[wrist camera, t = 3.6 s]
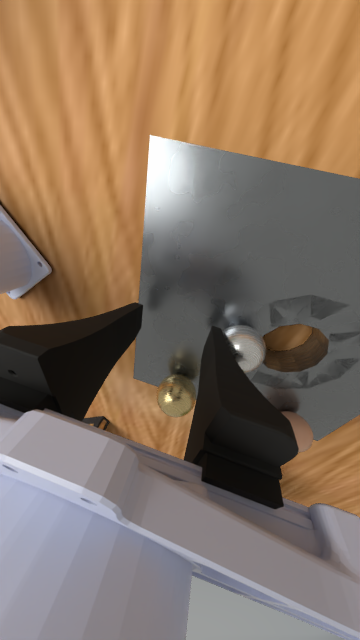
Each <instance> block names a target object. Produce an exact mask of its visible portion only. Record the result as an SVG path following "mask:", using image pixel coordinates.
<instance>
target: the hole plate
mask: <svg viewBox="0 0 360 640" xmlns="http://www.w3.org/2000/svg"><path fill="white" fill-rule="evenodd" d="M139 304H142V305H143V314H142V326H141V329H140V331H139V333H138V334H137V336H136V349H135V363H134V379H137V380H140V381H143V382H146V383H149V384H152V385H155V386H157V387H159V385H160V383H161V382H162V380H163V379H164V378H166V377H167V376H169V375H172V374H182V375H184V376H186V377H188V378H189V379H190V380H191V381H192V383H193V384H194V386H195V389H196V400H197V395H198V387H199V376H200V366H201V358H202V353H203V349H204V345H205V343H206V340H207V337H208V335H209V332H210V330H211V327H212V326H215V327H219V328H221V330H222V331H224V330H225V329H226V328H228V327H230V326H234V325H246V326H249V327H251V328H253V329H255V330H256V331H257V332H258V333H259V334H260V335H261V336H262V338H263V336H264V335H265V334H267V333H269V332H270V331H272V330H274V329H276V328H278V327H279V326H285V325H293V324H303V325H307V326H310V327H313V329H312V334H311V336H310V337H309V338H308V339H307V340H306V342H305V343H304V344H303V345H300V346H298V347H296V348H294V349H292V350H290V351H277V352H274V351H271V350H268V349H266V356H265V359H264V361H263V363H262V364H261V365H260V366H259V367H258V368H257V369H256V370H254V371H252V372H248V373H245V374H246V376H247V377H248V378H249V379H250V381H251V382H252V383H253V384H254V385H255V387H256V388H257V389H258V390H259V391H260V392H261V393H262V394H263V395H264V396H265V398H266V399H267V400H268V401H269V402H270V403H271V404H272V405H273V406H274V407H276V408H277V409H278V410H279V411H280V412H282V411H291V412H294V413H297V414H298V415H300V416H301V417H303V418H304V419H305V420H306V421H307V423H308V424H309V425H310V427H311V429H312V432H313V440H316V441H318V440H320V439H322V438H323V437H325V436H326V435H328V434H329V433H331V432H333V431H334V430H336V429H337V428H339V427H341V426H342V425H344V424H345V423H347V422H349V421H350V420H352V419H353V418H355V417H356V416H358V415H360V179H358V178H353V177H348V176H343V175H338V174H334V173H329V172H324V171H319V170H314V169H310V168H305V167H300V166H295V165H290V164H286V163H281V162H276V161H271V160H266V159H262V158H257V157H252V156H247V155H243V154H238V153H233V152H228V151H223V150H219V149H214V148H209V147H204V146H199V145H195V144H190V143H185V142H180V141H175V140H171V139H166V138H161V137H156V136H151V135H150V144H149V159H148V173H147V188H146V203H145V217H144V232H143V246H142V261H141V276H140V290H139Z"/></svg>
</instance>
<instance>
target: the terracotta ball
mask: <svg viewBox="0 0 360 640" xmlns="http://www.w3.org/2000/svg"><path fill="white" fill-rule="evenodd" d="M281 413H282V414H283V415H284V416H285V417H286V418H287V419H289V420H290V423H291V425H292V428H293V431H294V434H295V437H296V441H297V444H298V448H299V451H298V452H304V451H306V450H308V449H309V448H310V447H311V445H312V443H313V432H312V429H311V427H310V425H309V424H308V423H307V421H306V420H305V419H304V418H303V417H301V416H300V415H298V414H297V413H294V412H291V411H282V412H281Z"/></svg>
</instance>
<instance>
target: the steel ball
mask: <svg viewBox="0 0 360 640" xmlns="http://www.w3.org/2000/svg"><path fill="white" fill-rule="evenodd" d="M222 332H223V335H224V337H225V339H226V342H227V344H228V346H229V348H230V350H231V352H232V354H233V356H234V358H235V359H236V361H237V363H238V364H239V366H240V367H241V369H242V370H243V371H244V373H248V372H252V371H254V370H256V369H257V368H258V367H259V366H260V365H261V364H262V363H263V361H264V359H265V356H266V345H265V341H264V339H263V338H262V336H261V335H260V334H259V333H258V332H257V331H256V330H255V329H253V328H251V327H249V326H246V325H234V326H230V327H228V328H226V329H225V330H224V331H222Z"/></svg>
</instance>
